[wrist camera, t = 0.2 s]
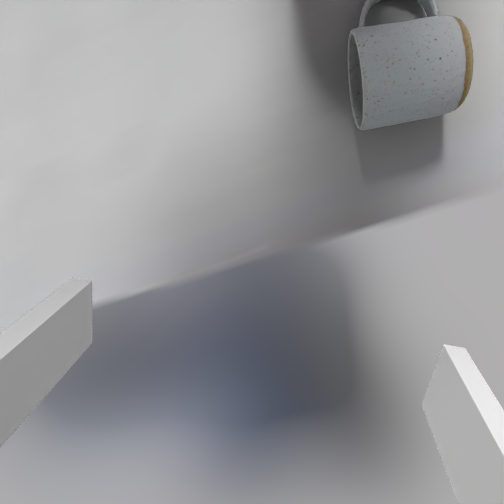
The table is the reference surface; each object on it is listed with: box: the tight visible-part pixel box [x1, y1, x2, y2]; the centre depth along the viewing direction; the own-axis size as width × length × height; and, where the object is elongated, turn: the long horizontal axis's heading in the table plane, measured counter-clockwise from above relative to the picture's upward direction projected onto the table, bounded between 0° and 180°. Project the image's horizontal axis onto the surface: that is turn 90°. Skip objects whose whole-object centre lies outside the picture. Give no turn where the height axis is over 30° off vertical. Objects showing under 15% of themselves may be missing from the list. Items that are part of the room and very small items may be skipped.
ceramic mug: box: [347, 0, 473, 131], centre depth 32 cm, size 11×8×8 cm
